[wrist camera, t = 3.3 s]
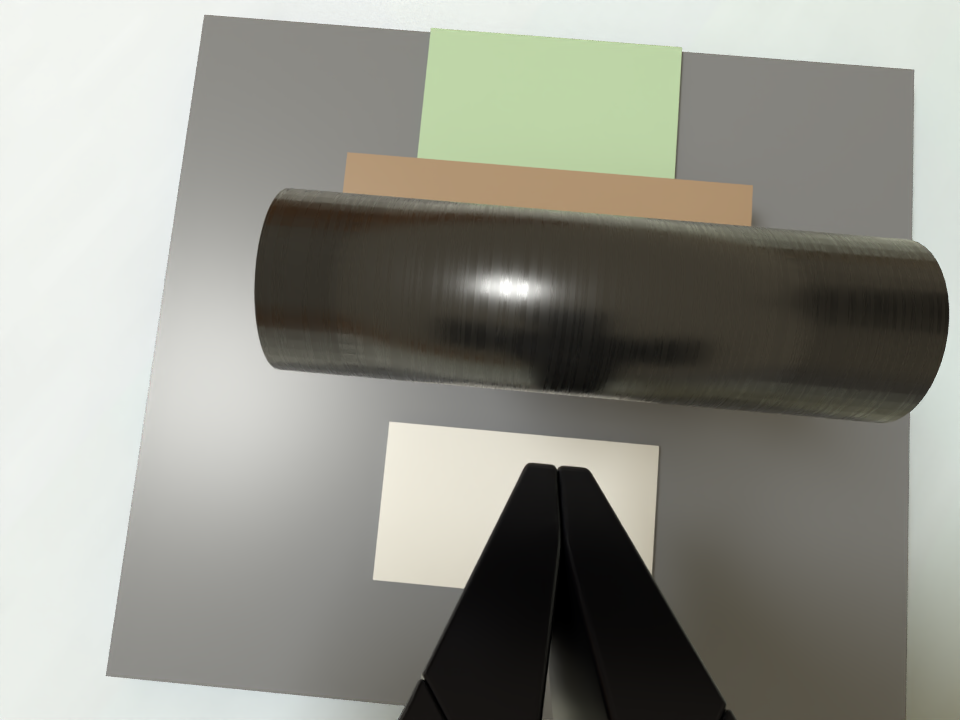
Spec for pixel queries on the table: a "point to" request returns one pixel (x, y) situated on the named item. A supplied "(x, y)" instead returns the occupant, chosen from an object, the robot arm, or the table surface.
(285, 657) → the board
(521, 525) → the robot arm
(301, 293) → the bench scraper
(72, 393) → the table surface
